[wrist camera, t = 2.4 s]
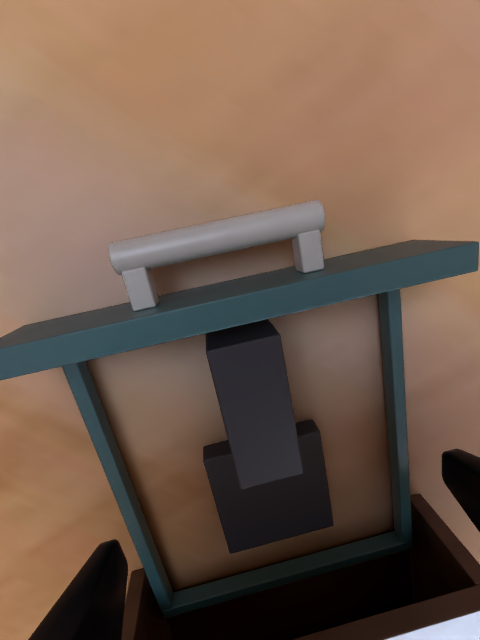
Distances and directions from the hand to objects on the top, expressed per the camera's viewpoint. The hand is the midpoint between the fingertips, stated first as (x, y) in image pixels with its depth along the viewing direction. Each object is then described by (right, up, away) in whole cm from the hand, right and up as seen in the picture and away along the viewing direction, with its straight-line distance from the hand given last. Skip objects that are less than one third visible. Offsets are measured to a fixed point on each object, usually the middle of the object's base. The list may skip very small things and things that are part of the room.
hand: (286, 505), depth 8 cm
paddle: (0, -1, +7) cm, 7 cm away
